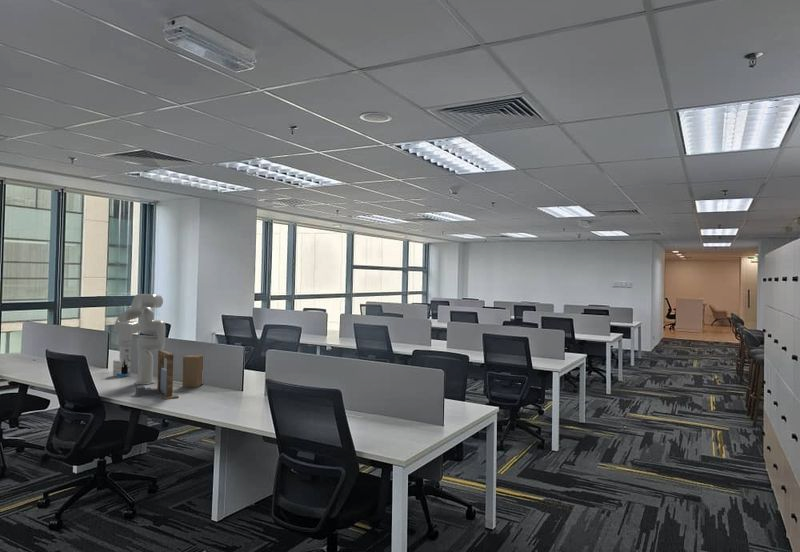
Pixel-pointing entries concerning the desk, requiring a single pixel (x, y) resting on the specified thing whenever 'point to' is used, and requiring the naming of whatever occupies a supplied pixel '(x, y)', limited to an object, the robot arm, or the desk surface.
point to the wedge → (145, 391)
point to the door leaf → (163, 380)
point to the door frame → (169, 379)
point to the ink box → (119, 368)
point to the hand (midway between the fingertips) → (124, 373)
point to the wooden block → (192, 370)
